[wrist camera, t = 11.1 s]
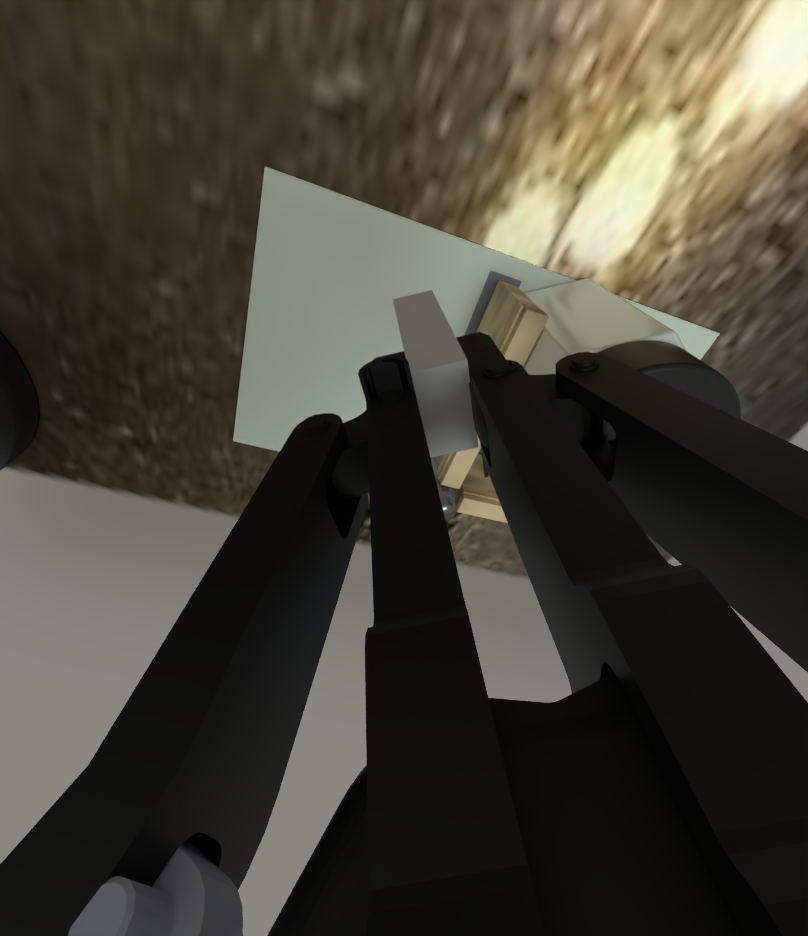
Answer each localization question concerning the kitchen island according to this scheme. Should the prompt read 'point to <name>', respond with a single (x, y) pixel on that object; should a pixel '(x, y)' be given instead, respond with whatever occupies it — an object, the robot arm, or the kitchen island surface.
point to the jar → (621, 342)
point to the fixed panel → (478, 494)
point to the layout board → (357, 301)
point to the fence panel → (515, 336)
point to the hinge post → (444, 495)
